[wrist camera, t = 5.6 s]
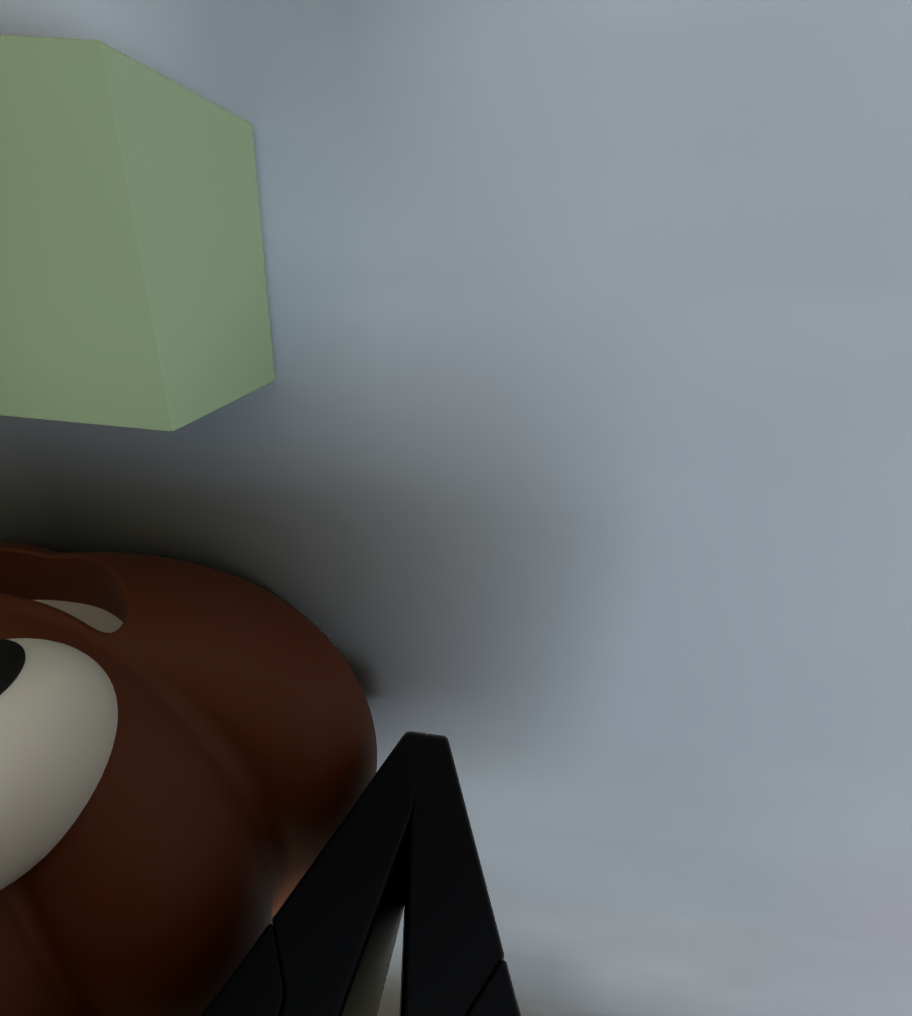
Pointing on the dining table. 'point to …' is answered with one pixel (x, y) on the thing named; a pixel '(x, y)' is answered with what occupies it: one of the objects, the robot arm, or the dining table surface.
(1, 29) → the dining table surface
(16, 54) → the deck
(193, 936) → the poop emoji
